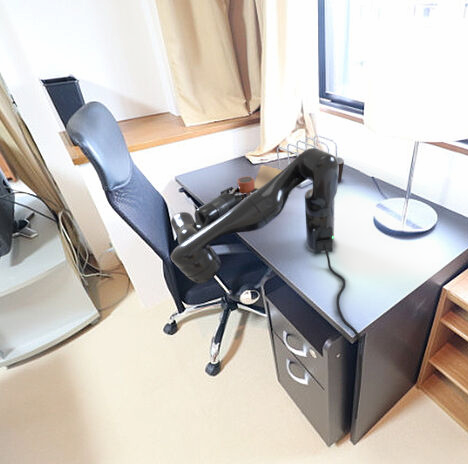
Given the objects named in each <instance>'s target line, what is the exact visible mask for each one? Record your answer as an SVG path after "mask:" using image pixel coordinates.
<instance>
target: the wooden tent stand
mask: <svg viewBox="0 0 468 464" xmlns="http://www.w3.org/2000/svg"><path fill="white" fill-rule="evenodd" d="M283 170H284V169H281V168H280V169H279V168H276V167H271V166H268V165H264V164H261V165H260V167H259V170H258V172H257V174H256V177H255V179H254V185H255V188H257V189H259V188H260V187H262V186H263V185H265V184H266V183H267V182H268V181H270V180H271V179H272V178H274V177H275V176H276V175H278V174H279V173H280V172H281V171H283Z"/></svg>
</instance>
